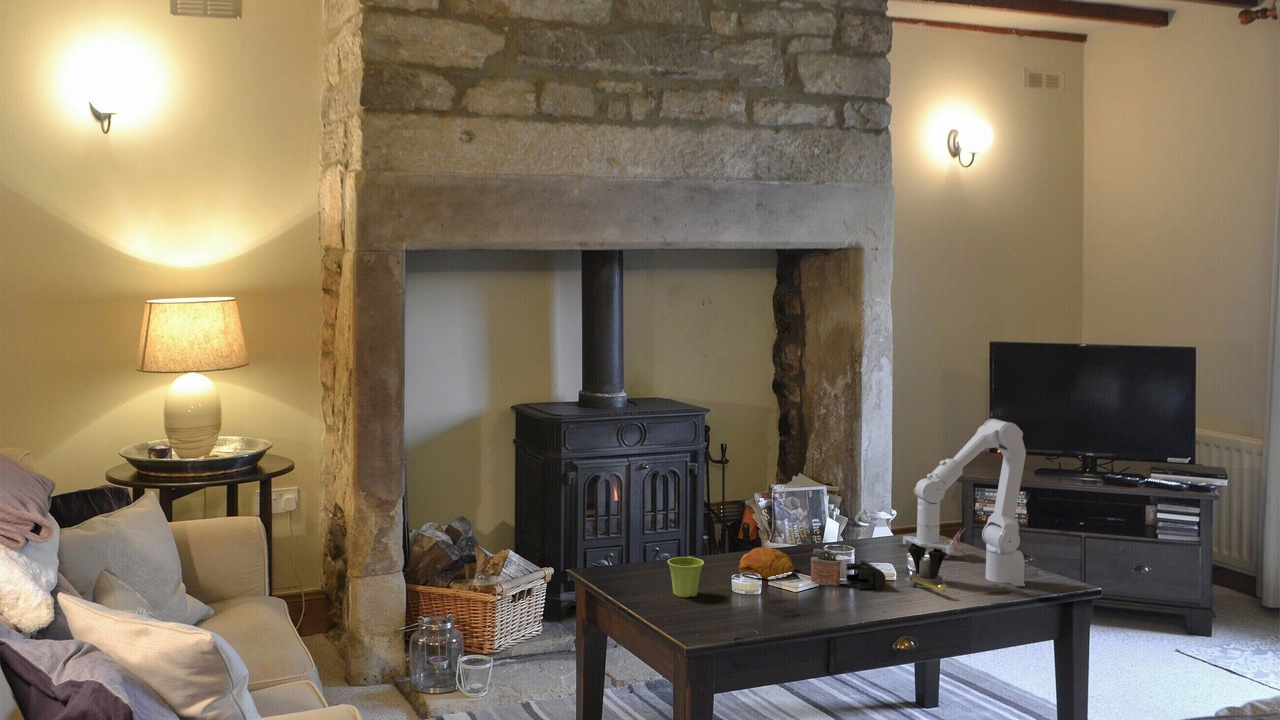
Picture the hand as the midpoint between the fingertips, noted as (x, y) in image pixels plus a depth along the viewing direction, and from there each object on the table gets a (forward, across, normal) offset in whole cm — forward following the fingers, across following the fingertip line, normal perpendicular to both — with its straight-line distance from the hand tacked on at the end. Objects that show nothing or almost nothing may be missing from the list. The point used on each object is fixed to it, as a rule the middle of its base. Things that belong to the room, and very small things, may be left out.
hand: (926, 575), depth 298 cm
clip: (+2, +5, -8) cm, 10 cm away
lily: (+3, -13, +32) cm, 35 cm away
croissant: (+4, -37, -24) cm, 44 cm away
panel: (+3, +2, 0) cm, 4 cm away
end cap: (+3, -9, -14) cm, 17 cm away
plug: (+2, 0, 0) cm, 2 cm away
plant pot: (+3, -36, -54) cm, 65 cm away
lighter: (+3, -17, -21) cm, 27 cm away
